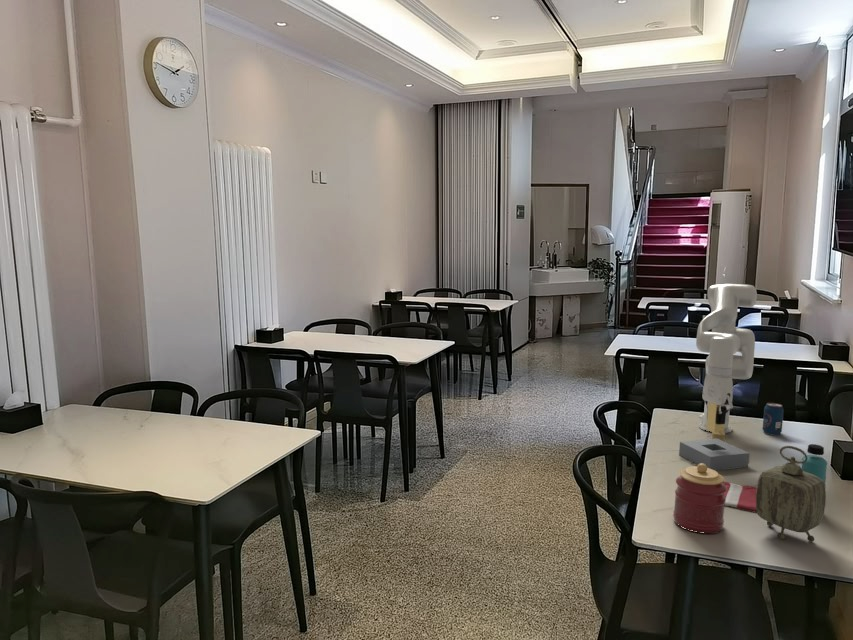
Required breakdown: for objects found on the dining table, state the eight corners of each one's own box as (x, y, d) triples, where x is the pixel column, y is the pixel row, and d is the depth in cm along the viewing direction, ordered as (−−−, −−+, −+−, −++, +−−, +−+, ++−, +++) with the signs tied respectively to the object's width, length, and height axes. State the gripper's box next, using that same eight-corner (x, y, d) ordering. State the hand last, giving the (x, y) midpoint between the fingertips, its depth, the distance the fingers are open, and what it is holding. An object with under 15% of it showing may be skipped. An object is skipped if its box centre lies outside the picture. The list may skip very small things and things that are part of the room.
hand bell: (734, 447, 243) (737, 406, 240) (721, 451, 238) (725, 409, 236) (713, 441, 249) (716, 401, 247) (701, 444, 245) (704, 404, 242)
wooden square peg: (706, 429, 227) (709, 396, 226) (715, 428, 228) (718, 395, 227) (714, 432, 224) (717, 399, 222) (723, 432, 225) (726, 398, 223)
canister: (729, 537, 171) (734, 474, 168) (678, 532, 173) (682, 470, 170) (716, 516, 183) (720, 457, 181) (668, 512, 186) (672, 453, 183)
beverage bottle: (822, 518, 183) (830, 451, 180) (796, 512, 186) (802, 446, 184) (823, 509, 188) (830, 444, 186) (797, 504, 192) (803, 440, 189)
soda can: (758, 430, 263) (761, 402, 261) (774, 430, 264) (776, 402, 262) (769, 436, 256) (771, 407, 255) (785, 435, 257) (788, 406, 255)
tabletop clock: (821, 542, 168) (831, 451, 165) (805, 552, 163) (814, 458, 160) (766, 522, 180) (774, 436, 176) (749, 530, 175) (757, 442, 171)
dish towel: (691, 480, 211) (691, 473, 210) (771, 496, 199) (772, 488, 198) (682, 498, 196) (682, 490, 196) (768, 517, 184) (769, 508, 184)
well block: (679, 454, 233) (680, 441, 232) (715, 451, 237) (716, 438, 237) (709, 470, 218) (710, 456, 217) (748, 466, 222) (749, 453, 222)
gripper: (694, 366, 230) (691, 416, 233) (728, 377, 214) (723, 430, 217) (712, 366, 232) (708, 414, 235) (746, 376, 216) (742, 428, 219)
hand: (715, 421), depth 226 cm, fingers closed on wooden square peg, 4 cm apart
